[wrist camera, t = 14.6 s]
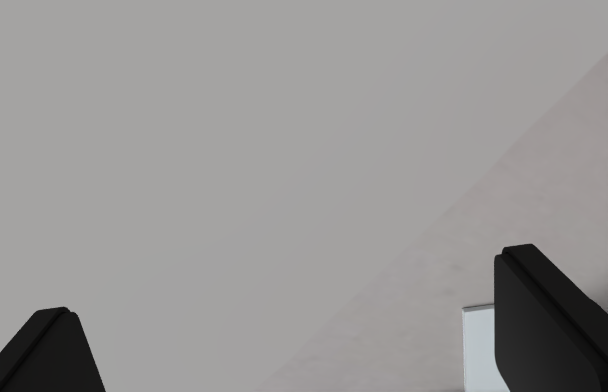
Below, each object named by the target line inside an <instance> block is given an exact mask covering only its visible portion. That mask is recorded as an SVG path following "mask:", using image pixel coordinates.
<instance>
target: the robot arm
mask: <svg viewBox="0 0 608 392" xmlns="http://www.w3.org/2000/svg"><path fill="white" fill-rule="evenodd" d="M494 355H495V362H496V366H497V368H498V371H499V373H500V375H501V376H502V378H503V380H504V382H505V383H506V385H507V387H508V389H509V390H510V392H608V314H607V313H606V312H605V311H604V310H603V309H602V308H601V307H600V306H599V305H598V304H597V303H596V302H594V301H593V300H591V299H589V298H588V297H587V296H586V295H585V294H584V293H583V292H582V291H581V290H580V289H579V288H578V287H577V286H576V285H575V284H574V283H573V282H572V281H571V280H570V279H569V278H568V277H567V276H566V275H564V274H563V273H562V272H561V271H560V270H559V269H558V268H557V267H556V266H555V265H554V264H553V263H552V262H551V261H550V260H549V259H548V258H547V257H546V256H545V255H544V254H543V253H542V252H541V251H540V250H539V249H538V248H537V247H535V246H534V245H533V244H524V245H517V246H509V247H504V248H503V250H502V254H500V255H496V256H495V259H494ZM0 392H106V391H105V388H104V386H103V383H102V380H101V377H100V375H99V372H98V369H97V366H96V364H95V361H94V358H93V355H92V353H91V350H90V347H89V344H88V342H87V339H86V336H85V334H84V331H83V328H82V325H81V322H80V320H79V317H78V315H77V314H76V313H74V312H70V310H68V308H66V307H58V308H50V309H43V310H38V311H36V312H35V313H34V314H33V315H32V316H31V317H30V318H29V320H28V321H27V322H26V323H25V324H24V325H23V327H22V328H21V329H20V330H19V331H18V332H17V334H16V335H15V336H14V337H13V338H12V340H11V341H10V342H9V343H8V344H7V345H6V346H5V347H4V349H3V350H2V351H1V352H0Z"/></svg>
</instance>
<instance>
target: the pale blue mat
mask: <svg viewBox="0 0 608 392" xmlns="http://www.w3.org/2000/svg"><path fill="white" fill-rule="evenodd" d="M462 318H463V352H464V386H465V392H510V390H509V389H508V387H507V385H506V383H505V382H504V380H503V378H502V376H501V375H500V373H499V371H498V368H497V366H496V362H495V355H494V304H493V305H485V306H478V307H470V308H463V309H462Z"/></svg>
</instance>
